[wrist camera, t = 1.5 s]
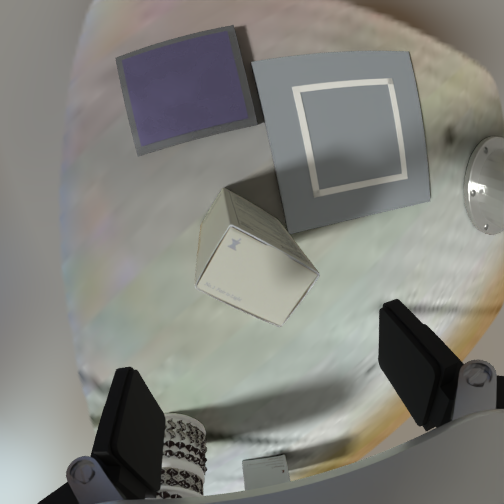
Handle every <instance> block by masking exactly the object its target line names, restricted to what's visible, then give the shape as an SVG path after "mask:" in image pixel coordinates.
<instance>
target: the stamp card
mask: <svg viewBox="0 0 504 504" xmlns="http://www.w3.org/2000/svg"><path fill="white" fill-rule="evenodd" d="M251 66H252V70H253V74H254V78H255V82H256V86H257V91H258V95H259V99H260V103H261V108H262V112H263V116H264V121H265V125H266V130H267V134H268V139H269V143H270V148H271V152H272V157H273V162H274V166H275V171H276V176H277V181H278V186H279V191H280V195H281V200H282V205H283V210H284V216H285V221H286V226H287V231H288V233H289V234H293V233H297V232H301V231H305V230H309V229H314V228H318V227H322V226H326V225H330V224H335V223H339V222H343V221H347V220H352V219H356V218H360V217H364V216H368V215H373V214H377V213H381V212H386V211H390V210H394V209H398V208H403V207H407V206H411V205H416V204H420V203H424V202H429V201H430V186H429V173H428V161H427V152H426V143H425V135H424V128H423V121H422V115H421V109H420V103H419V97H418V92H417V87H416V82H415V77H414V73H413V69H412V64H411V60H410V56H409V52H404V51H348V52H330V53H317V54H306V55H297V56H288V57H281V58H273V59H267V60H260V61H254V62H251Z"/></svg>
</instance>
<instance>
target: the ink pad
mask: <svg viewBox="0 0 504 504" xmlns="http://www.w3.org/2000/svg"><path fill="white" fill-rule="evenodd" d="M115 59H116V64H117V69H118V74H119V79H120V84H121V88H122V93H123V98H124V102H125V107H126V111H127V115H128V119H129V124H130V128H131V132H132V136H133V140H134V144H135V148H136V151H137V155H138V156H141V155H144V154H148V153H151V152H154V151H157V150H161V149H164V148H167V147H171V146H174V145H178V144H181V143H185V142H188V141H192V140H196V139H200V138H204V137H207V136H211V135H215V134H219V133H224V132H228V131H232V130H237V129H241V128H246V127H250V126H255V125H258V124H257V119H256V115H255V111H254V106H253V102H252V98H251V94H250V89H249V85H248V81H247V77H246V73H245V69H244V65H243V61H242V57H241V53H240V49H239V45H238V41H237V37H236V33H235V29H234V25H231V26H226V27H221V28H216V29H211V30H207V31H202V32H198V33H194V34H190V35H186V36H182V37H178V38H175V39H171V40H168V41H164V42H161V43H157V44H154V45H151V46H148V47H145V48H142V49H139V50H136V51H133V52H130V53H128V54H125V55H122V56H119V57H117V58H115Z"/></svg>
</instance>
